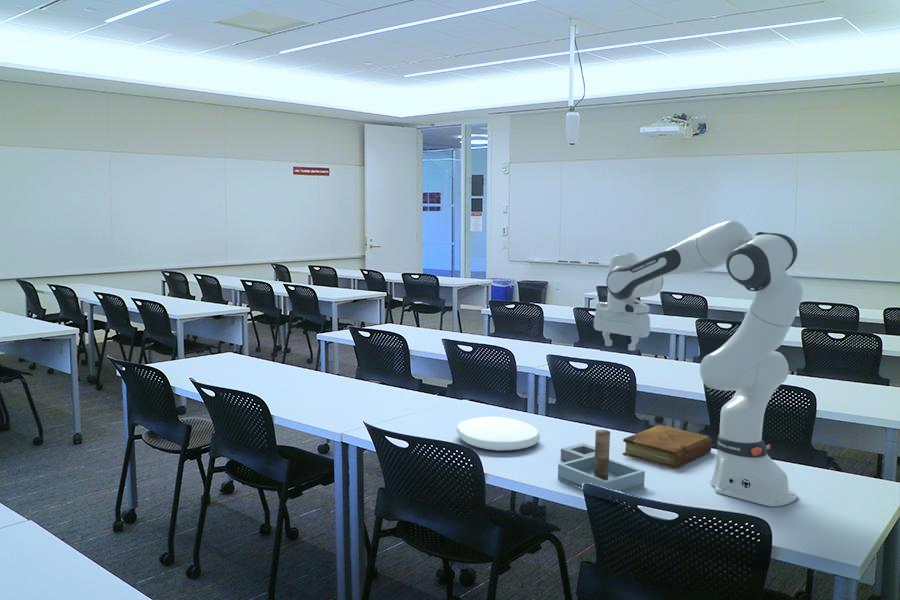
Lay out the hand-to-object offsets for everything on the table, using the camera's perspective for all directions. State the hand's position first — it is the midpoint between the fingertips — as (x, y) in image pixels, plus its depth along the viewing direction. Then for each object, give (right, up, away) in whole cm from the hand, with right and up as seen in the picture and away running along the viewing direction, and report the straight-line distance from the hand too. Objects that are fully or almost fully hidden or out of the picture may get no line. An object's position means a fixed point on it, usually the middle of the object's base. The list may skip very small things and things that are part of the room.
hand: (619, 347), depth 232 cm
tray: (-11, -37, -24) cm, 45 cm away
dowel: (-11, -36, -24) cm, 44 cm away
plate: (-38, -33, +15) cm, 52 cm away
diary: (+16, -35, +4) cm, 38 cm away
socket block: (-12, -35, -5) cm, 37 cm away
